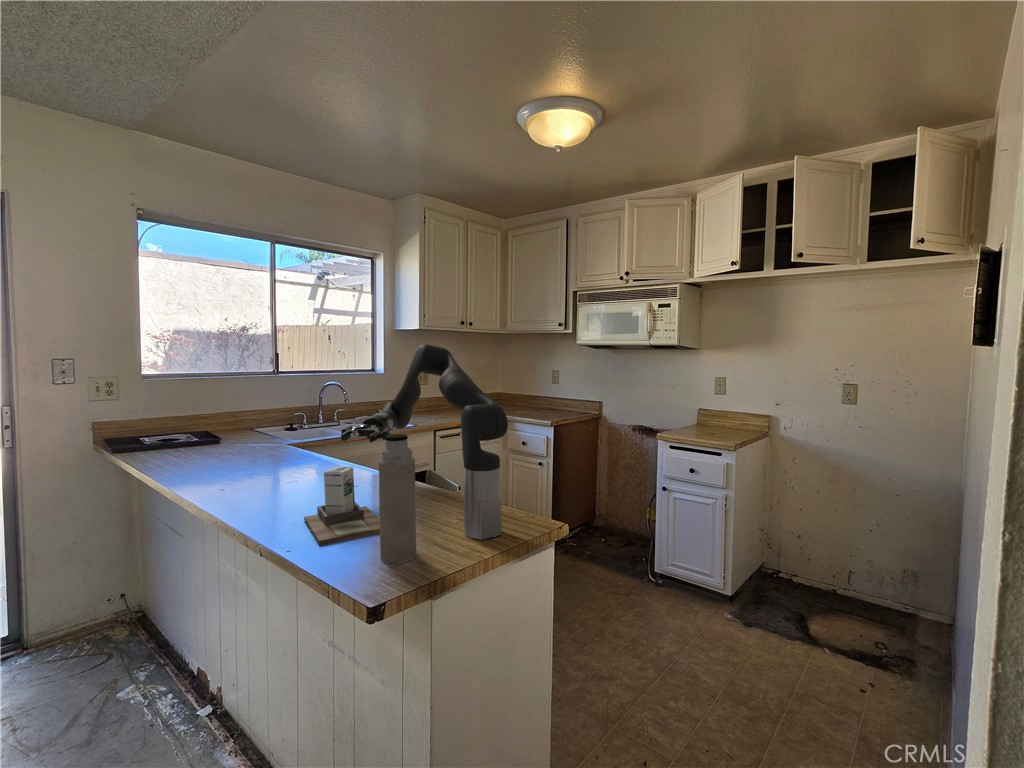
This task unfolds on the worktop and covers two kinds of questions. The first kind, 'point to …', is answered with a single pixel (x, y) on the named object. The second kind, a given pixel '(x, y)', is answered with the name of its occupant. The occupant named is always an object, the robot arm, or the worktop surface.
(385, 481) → the thermos bottle
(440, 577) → the worktop surface
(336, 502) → the syrup box
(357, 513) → the board
